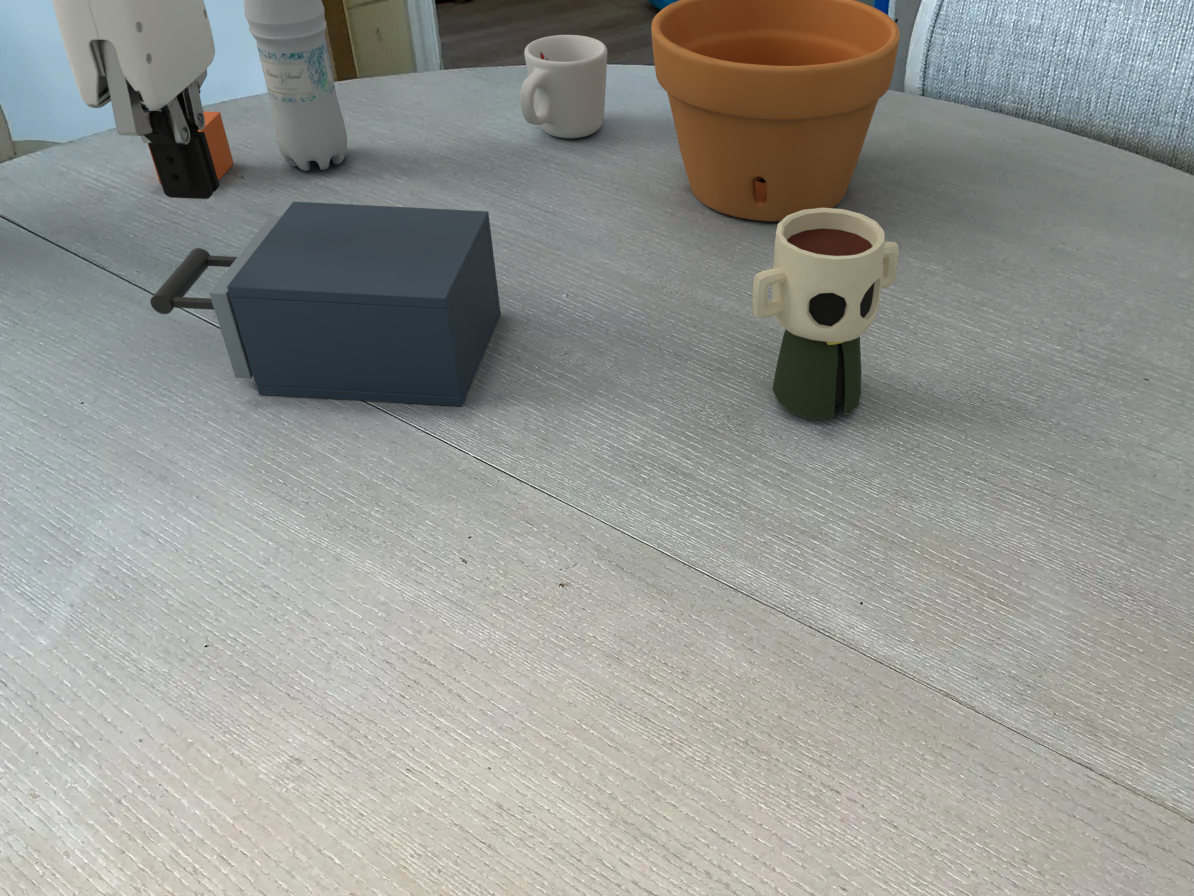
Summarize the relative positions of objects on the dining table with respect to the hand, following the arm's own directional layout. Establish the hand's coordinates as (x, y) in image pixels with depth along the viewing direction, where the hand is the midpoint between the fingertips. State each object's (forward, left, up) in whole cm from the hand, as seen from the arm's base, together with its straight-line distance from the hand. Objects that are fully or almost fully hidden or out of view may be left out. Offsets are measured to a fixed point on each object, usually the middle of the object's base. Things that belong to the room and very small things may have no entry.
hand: (193, 192), depth 80 cm
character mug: (+43, -3, -12) cm, 45 cm away
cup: (+17, +41, -12) cm, 46 cm away
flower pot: (+38, +31, -12) cm, 51 cm away
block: (-15, +28, -12) cm, 34 cm away
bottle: (-5, +32, -12) cm, 35 cm away
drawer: (+6, 0, -11) cm, 13 cm away
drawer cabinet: (+11, 0, -12) cm, 16 cm away
